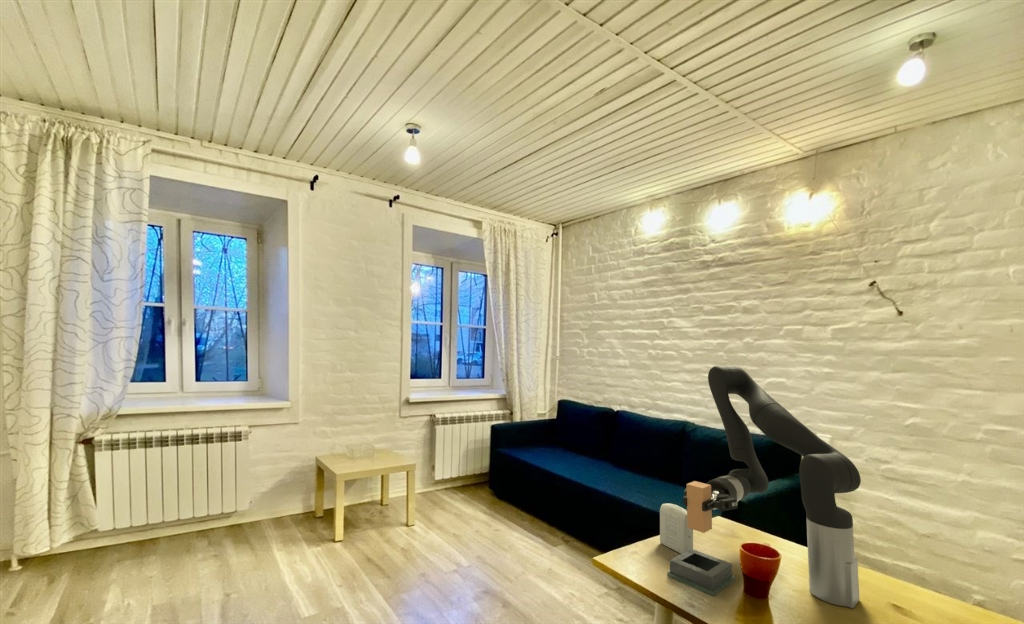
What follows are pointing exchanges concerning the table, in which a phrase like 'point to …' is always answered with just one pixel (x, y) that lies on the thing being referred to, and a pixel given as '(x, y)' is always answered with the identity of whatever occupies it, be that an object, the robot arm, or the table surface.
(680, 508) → the photo printer
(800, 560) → the table surface
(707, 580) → the square frame holder
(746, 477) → the robot arm
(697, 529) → the tall orange pillar
